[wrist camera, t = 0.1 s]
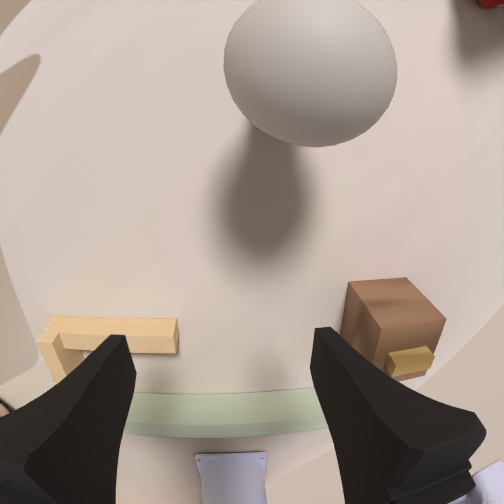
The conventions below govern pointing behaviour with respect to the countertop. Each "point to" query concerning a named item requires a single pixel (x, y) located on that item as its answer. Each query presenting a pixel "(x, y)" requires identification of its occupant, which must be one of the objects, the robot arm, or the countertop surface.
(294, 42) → the lightbulb
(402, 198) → the countertop surface
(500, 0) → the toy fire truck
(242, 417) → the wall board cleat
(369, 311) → the cabinet block
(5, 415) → the robot arm
